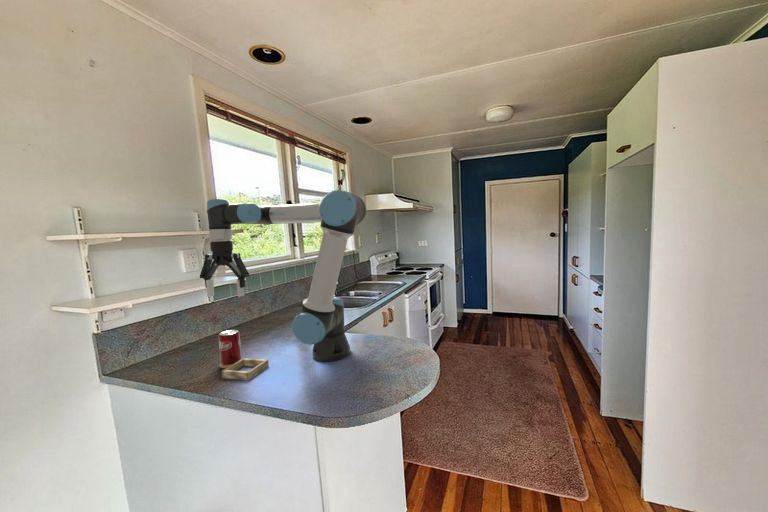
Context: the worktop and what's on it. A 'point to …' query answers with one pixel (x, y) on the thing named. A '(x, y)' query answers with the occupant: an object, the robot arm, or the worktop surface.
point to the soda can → (229, 347)
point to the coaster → (223, 366)
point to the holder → (245, 375)
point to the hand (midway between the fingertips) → (225, 296)
